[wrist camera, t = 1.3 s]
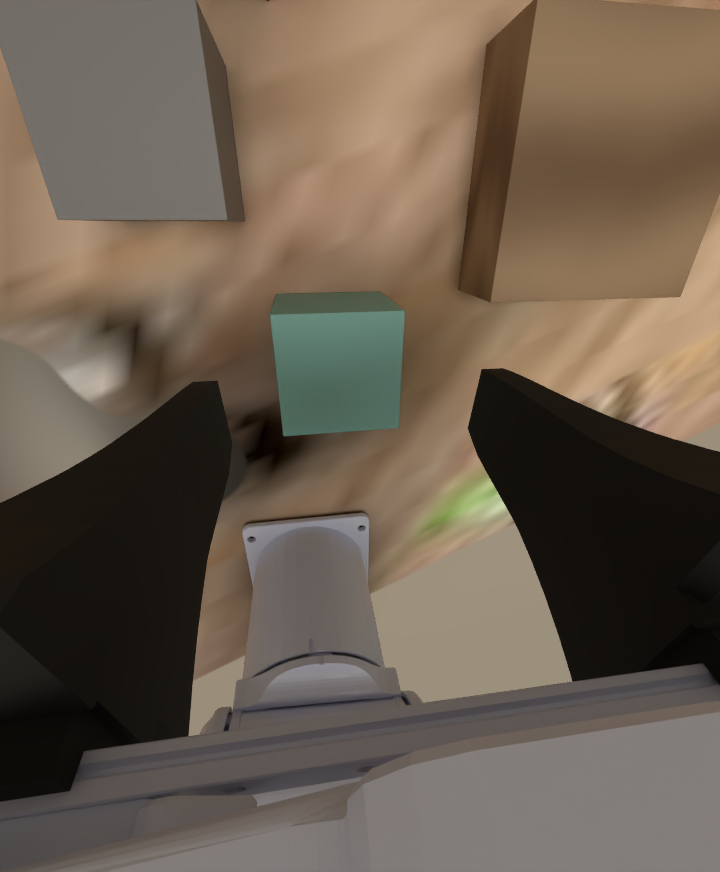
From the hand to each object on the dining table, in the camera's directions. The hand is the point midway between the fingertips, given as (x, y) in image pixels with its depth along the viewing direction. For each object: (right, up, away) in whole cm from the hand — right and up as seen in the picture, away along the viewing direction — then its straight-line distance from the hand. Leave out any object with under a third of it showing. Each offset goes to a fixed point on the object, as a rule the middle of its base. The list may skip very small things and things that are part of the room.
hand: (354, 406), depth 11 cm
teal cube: (-1, +4, +9) cm, 10 cm away
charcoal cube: (-7, +11, +4) cm, 13 cm away
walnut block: (+10, +11, +7) cm, 16 cm away
